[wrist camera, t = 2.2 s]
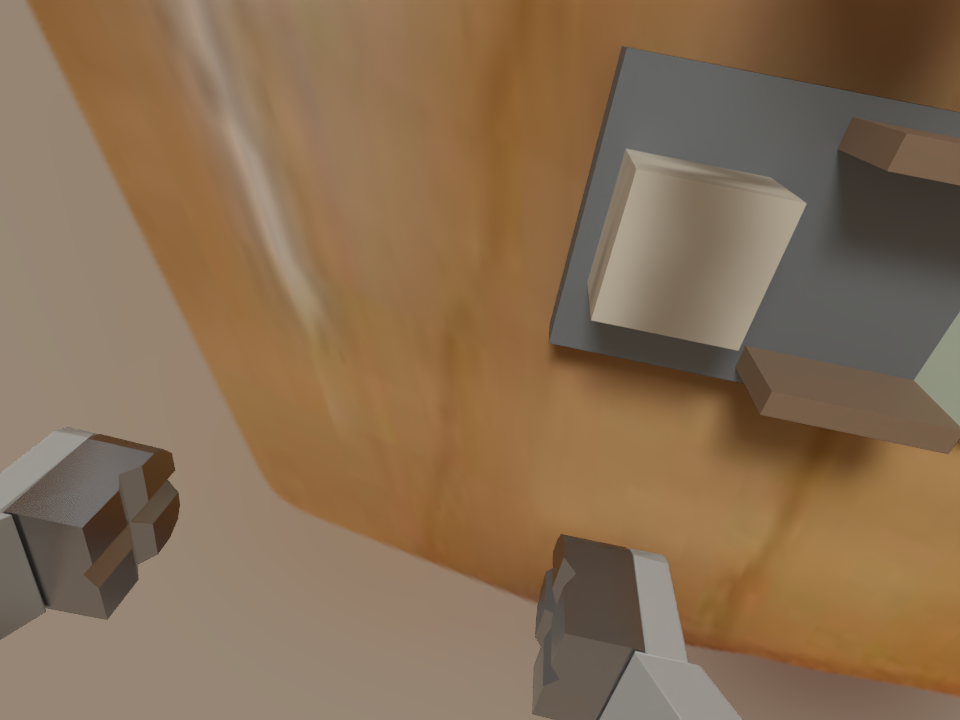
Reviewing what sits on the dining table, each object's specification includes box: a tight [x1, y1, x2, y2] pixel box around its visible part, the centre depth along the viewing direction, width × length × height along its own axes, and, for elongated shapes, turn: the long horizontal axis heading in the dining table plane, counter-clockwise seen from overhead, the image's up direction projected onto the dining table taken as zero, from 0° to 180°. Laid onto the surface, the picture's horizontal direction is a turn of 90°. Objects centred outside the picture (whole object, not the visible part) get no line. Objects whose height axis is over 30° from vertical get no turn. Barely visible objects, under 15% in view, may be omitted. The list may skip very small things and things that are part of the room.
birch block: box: [587, 149, 807, 351], centre depth 23 cm, size 6×6×4 cm
